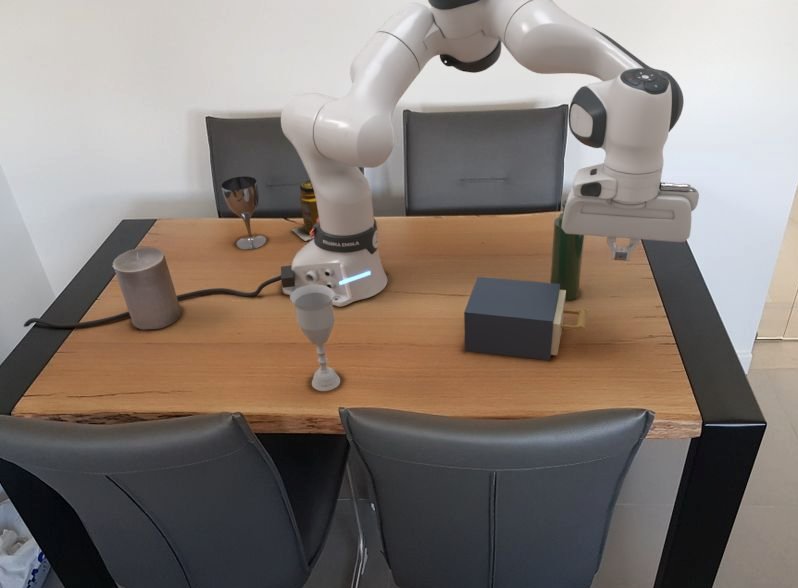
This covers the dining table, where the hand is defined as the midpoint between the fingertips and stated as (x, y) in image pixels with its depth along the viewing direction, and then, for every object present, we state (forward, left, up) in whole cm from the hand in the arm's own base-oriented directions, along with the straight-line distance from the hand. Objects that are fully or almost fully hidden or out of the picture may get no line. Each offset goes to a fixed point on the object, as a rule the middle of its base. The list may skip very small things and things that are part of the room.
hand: (620, 258), depth 120 cm
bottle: (-10, +17, -18) cm, 27 cm away
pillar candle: (-90, -7, -18) cm, 92 cm away
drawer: (-14, 0, -17) cm, 22 cm away
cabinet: (-18, 0, -18) cm, 25 cm away
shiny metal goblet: (-85, +27, -18) cm, 91 cm away
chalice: (-48, -20, -18) cm, 55 cm away
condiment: (-72, +35, -18) cm, 82 cm away
